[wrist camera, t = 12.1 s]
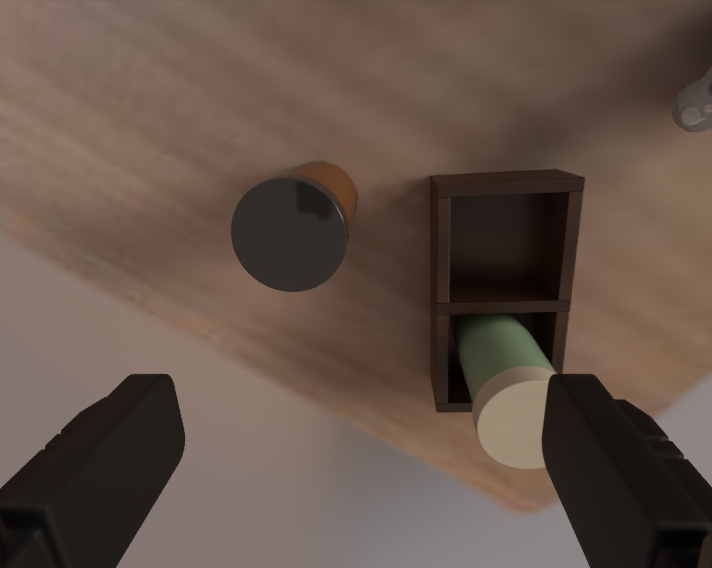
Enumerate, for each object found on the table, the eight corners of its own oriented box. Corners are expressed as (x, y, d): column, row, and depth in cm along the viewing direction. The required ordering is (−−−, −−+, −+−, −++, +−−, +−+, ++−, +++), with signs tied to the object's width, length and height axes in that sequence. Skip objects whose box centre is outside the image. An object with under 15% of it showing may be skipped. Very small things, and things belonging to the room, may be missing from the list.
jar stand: (430, 175, 30) (437, 184, 26) (556, 169, 30) (585, 177, 25) (430, 377, 36) (436, 412, 32) (537, 376, 35) (558, 411, 31)
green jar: (450, 299, 33) (478, 381, 23) (528, 297, 32) (593, 380, 22) (449, 366, 35) (475, 469, 24) (522, 364, 34) (580, 470, 24)
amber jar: (277, 161, 31) (221, 181, 21) (357, 156, 30) (342, 174, 20) (286, 239, 33) (240, 294, 22) (362, 236, 32) (350, 290, 22)
